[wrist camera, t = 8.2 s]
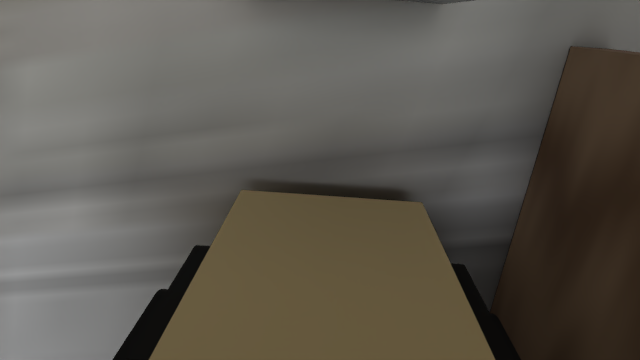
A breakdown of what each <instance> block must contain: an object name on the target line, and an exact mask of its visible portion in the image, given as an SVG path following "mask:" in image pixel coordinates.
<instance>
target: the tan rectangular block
mask: <svg viewBox="0 0 640 360" xmlns="http://www.w3.org/2000/svg"><path fill="white" fill-rule="evenodd" d="M149 360H495V358H494V356H493V354H492V352H491V349H490V347H489V345H488V343H487V341H486V339H485V337H484V334H483V332H482V330H481V328H480V326H479V324H478V322H477V319H476V317H475V315H474V313H473V311H472V309H471V306H470V304H469V302H468V300H467V298H466V296H465V294H464V291H463V289H462V287H461V285H460V283H459V281H458V279H457V276H456V274H455V272H454V270H453V268H452V266H451V264H450V261H449V259H448V257H447V255H446V253H445V251H444V249H443V246H442V244H441V242H440V240H439V238H438V236H437V234H436V231H435V229H434V227H433V225H432V223H431V221H430V219H429V216H428V214H427V212H426V210H425V208H424V206H423V203H422V202H409V201H394V200H380V199H366V198H351V197H337V196H322V195H308V194H293V193H279V192H265V191H250V190H241V191H240V193H239V195H238V197H237V199H236V201H235V202H234V204H233V206H232V208H231V210H230V212H229V213H228V215H227V217H226V219H225V221H224V223H223V224H222V226H221V228H220V230H219V232H218V234H217V236H216V237H215V239H214V241H213V243H212V245H211V247H210V248H209V250H208V252H207V254H206V256H205V258H204V259H203V261H202V263H201V265H200V267H199V269H198V270H197V272H196V274H195V276H194V278H193V280H192V281H191V283H190V285H189V287H188V289H187V291H186V292H185V294H184V296H183V298H182V300H181V302H180V303H179V305H178V307H177V309H176V311H175V313H174V314H173V316H172V318H171V320H170V322H169V324H168V325H167V327H166V329H165V331H164V333H163V335H162V336H161V338H160V340H159V342H158V344H157V346H156V347H155V349H154V351H153V353H152V355H151V357H150V359H149Z"/></svg>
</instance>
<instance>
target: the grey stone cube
mask: <svg viewBox="0 0 640 360" xmlns="http://www.w3.org/2000/svg"><path fill="white" fill-rule="evenodd" d="M399 1H412V2H424V3H436V4H447V3H456V2H465V1H474V0H399Z"/></svg>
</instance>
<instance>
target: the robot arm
mask: <svg viewBox="0 0 640 360" xmlns="http://www.w3.org/2000/svg"><path fill="white" fill-rule="evenodd" d="M210 247H211V246H199V245H196V246H195V247H194V248H193V250H192V251H191V253H190V255H189V256H188V258H187V260H186V261H185V263H184V264H183V266H182V268H181V269H180V271H179V273H178V274H177V276H176V277H175V279H174V281H173V282H172V284H171V286H170V287H169V289H168V290H167V289H160V290H159V291H158V292H157V293H156V294H155V295H154V297H153V298H152V300H151V301H150V303H149V305H148V306H147V308H146V309H145V311H144V312H143V314H142V315H141V317H140V318H139V320H138V321H137V323H136V325H135V326H134V328H133V329H132V331H131V332H130V334H129V335H128V337H127V338H126V340H125V341H124V343H123V345H122V346H121V348H120V349H119V351H118V352H117V354H116V355H115V357H114V358H113V360H149V359H150V357H151V355H152V353H153V351H154V349H155V347H156V346H157V344H158V342H159V340H160V338H161V336H162V335H163V333H164V331H165V329H166V327H167V325H168V324H169V322H170V320H171V318H172V316H173V314H174V313H175V311H176V309H177V307H178V305H179V303H180V302H181V300H182V298H183V296H184V294H185V292H186V291H187V289H188V287H189V285H190V283H191V281H192V280H193V278H194V276H195V274H196V272H197V270H198V269H199V267H200V265H201V263H202V261H203V259H204V258H205V256H206V254H207V252H208V250H209V248H210ZM451 266H452V268H453V270H454V272H455V274H456V276H457V279H458V281H459V283H460V285H461V287H462V289H463V291H464V294H465V296H466V298H467V300H468V302H469V304H470V306H471V309H472V311H473V313H474V315H475V317H476V319H477V322H478V324H479V326H480V328H481V330H482V332H483V334H484V337H485V339H486V341H487V343H488V345H489V347H490V349H491V352H492V354H493V356H494V358H495V360H521V359H520V357H519V355H518V353H517V351H516V349H515V347H514V346H513V344H512V342H511V340H510V338H509V336H508V335H507V333H506V331H505V329H504V327H503V325H502V323H501V322H500V320H499V318H498V317H497V316H496V315H495V314H493V313H489V311H488V309H487V307H486V305H485V303H484V301H483V300H482V298H481V296H480V294H479V292H478V290H477V288H476V286H475V284H474V282H473V280H472V278H471V276H470V275H469V273H468V271H467V269H466V267H465V266H464V265H463V264H451Z"/></svg>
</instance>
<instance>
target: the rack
mask: <svg viewBox="0 0 640 360" xmlns="http://www.w3.org/2000/svg"><path fill="white" fill-rule="evenodd" d="M490 313H493V314H495V315H496V316H497V317H498V318H499V320H500V322H501V323H502V325H503V327H504V329H505V331H506V333H507V335H508V336H509V338H510V340H511V342H512V344H513V346H514V347H515V349H516V351H517V353H518V355H519V357H520V359H521V360H640V53H639V52H630V51H622V50H614V49H602V48H586V47H571V48H570V51H569V55H568V58H567V61H566V65H565V68H564V71H563V74H562V78H561V81H560V84H559V88H558V91H557V94H556V97H555V101H554V104H553V107H552V110H551V114H550V117H549V120H548V124H547V127H546V130H545V133H544V137H543V140H542V143H541V147H540V150H539V153H538V156H537V160H536V163H535V166H534V170H533V173H532V176H531V179H530V183H529V186H528V189H527V193H526V196H525V199H524V202H523V206H522V209H521V212H520V216H519V219H518V222H517V225H516V229H515V232H514V235H513V239H512V242H511V245H510V248H509V252H508V255H507V258H506V262H505V265H504V268H503V271H502V275H501V278H500V281H499V285H498V288H497V291H496V294H495V298H494V301H493V304H492V307H491V311H490Z"/></svg>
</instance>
